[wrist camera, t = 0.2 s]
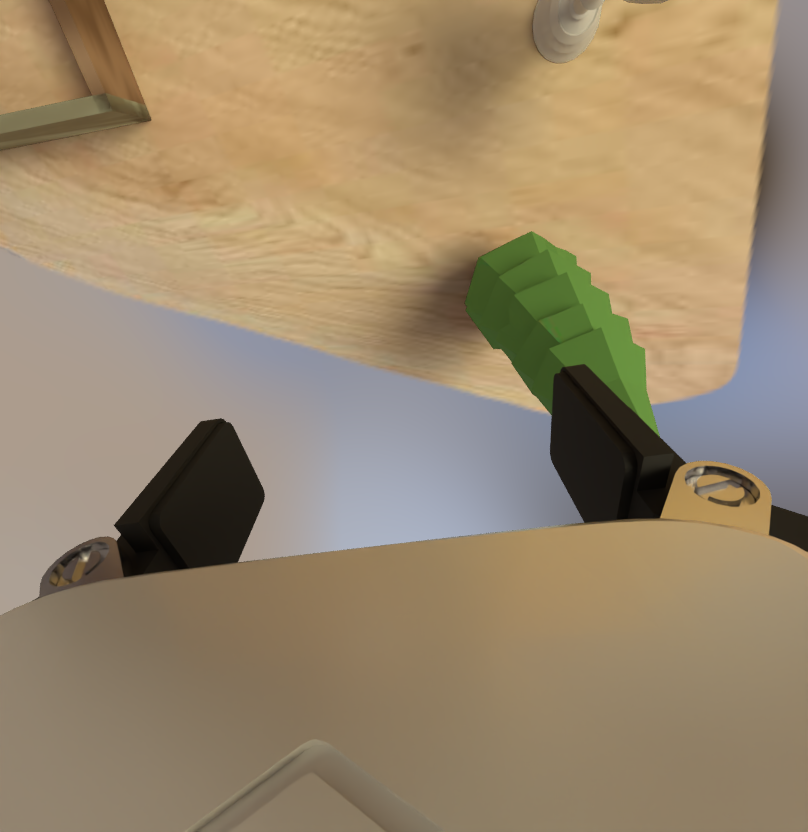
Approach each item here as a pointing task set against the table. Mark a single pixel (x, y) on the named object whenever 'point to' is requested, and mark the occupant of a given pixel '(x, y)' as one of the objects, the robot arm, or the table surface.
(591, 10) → the chalice
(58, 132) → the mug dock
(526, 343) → the decorative tree
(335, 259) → the table surface
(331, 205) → the table surface
